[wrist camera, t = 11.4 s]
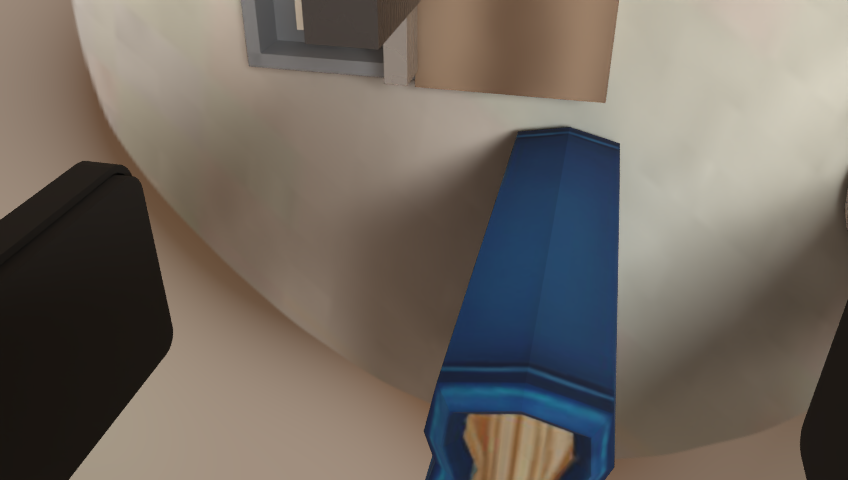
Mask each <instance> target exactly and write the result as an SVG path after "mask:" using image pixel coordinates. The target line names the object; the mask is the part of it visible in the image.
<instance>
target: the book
mask: <svg viewBox="0 0 848 480" xmlns="http://www.w3.org/2000/svg"><path fill="white" fill-rule="evenodd" d="M619 189H620V143H616V142H613V141H610V140H607V139H604V138H601V137H598V136H595V135H592V134H589V133H586V132H583V131H580V130H577V129H574V128H571V127H566V128H555V129H543V130H532V131H520V132H518V134H517V137H516V140H515V143H514V146H513V149H512V152H511V155H510V159H509V162H508V165H507V168H506V171H505V174H504V177H503V180H502V183H501V186H500V189H499V192H498V196H497V199H496V202H495V205H494V208H493V211H492V214H491V217H490V220H489V223H488V226H487V229H486V233H485V236H484V239H483V242H482V245H481V248H480V251H479V254H478V257H477V260H476V263H475V266H474V270H473V273H472V276H471V279H470V282H469V285H468V288H467V291H466V294H465V297H464V300H463V303H462V307H461V310H460V313H459V316H458V319H457V322H456V325H455V328H454V331H453V334H452V337H451V340H450V343H449V347H448V350H447V353H446V356H445V359H444V362H443V365H442V368H441V371H440V374H439V377H438V380H437V384H436V388H435V391H434V395H433V399H432V402H431V406H430V410H429V414H428V417H427V421H426V425H425V429H424V433H425V436H426V438H427V441H428V444H429V447H430V450H431V452H432V459H431V462H430V465H429V469H428V472H427V476H426V479H425V480H605V479H606V477H607V476H608V475H609V474H610V472H611V471H612V470H613V468H614V458H615V404H616V350H617V296H618V242H619Z"/></svg>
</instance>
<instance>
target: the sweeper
mask: <svg viewBox="0 0 848 480" xmlns="http://www.w3.org/2000/svg"><path fill="white" fill-rule="evenodd" d="M420 1H421V0H301V3H302V15H303V27H304V39H305V44H312V45H325V46H338V47H351V48H365V49H378V50H379V49H380V48H381V46H382V45H383V54H384V84H392V85H404V86H408V84H409V83H410V81H411V80H412V78H413V77H414V75H415V74H416V72H417V5H418V4H419V2H420Z"/></svg>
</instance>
